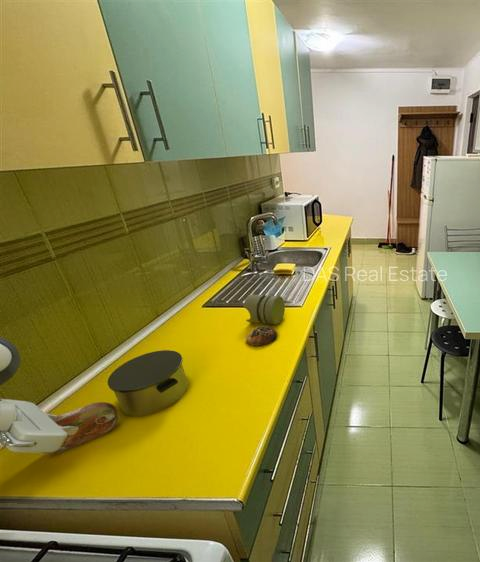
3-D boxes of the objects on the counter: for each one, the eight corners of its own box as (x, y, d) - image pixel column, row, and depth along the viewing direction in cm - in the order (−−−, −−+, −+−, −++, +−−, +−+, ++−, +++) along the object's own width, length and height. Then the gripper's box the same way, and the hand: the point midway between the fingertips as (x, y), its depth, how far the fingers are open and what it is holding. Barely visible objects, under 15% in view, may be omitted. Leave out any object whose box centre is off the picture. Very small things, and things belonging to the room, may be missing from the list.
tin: (39, 460, 69) (22, 434, 66) (42, 450, 71) (26, 424, 68) (122, 427, 77) (111, 403, 74) (123, 419, 79) (111, 395, 76)
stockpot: (105, 402, 85) (92, 376, 81) (167, 367, 99) (158, 343, 95) (143, 429, 77) (130, 400, 73) (205, 386, 90) (197, 361, 87)
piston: (260, 313, 132) (255, 290, 127) (286, 315, 130) (282, 291, 125) (246, 327, 121) (240, 302, 117) (274, 329, 119) (269, 304, 115)
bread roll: (275, 344, 109) (271, 332, 108) (244, 351, 109) (240, 339, 107) (279, 329, 120) (276, 318, 118) (251, 335, 119) (247, 324, 117)
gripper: (17, 428, 57) (99, 428, 68) (-17, 392, 66) (61, 397, 77) (-7, 465, 55) (82, 458, 66) (-39, 422, 64) (45, 423, 75)
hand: (70, 425), depth 72 cm, fingers closed on tin, 4 cm apart
